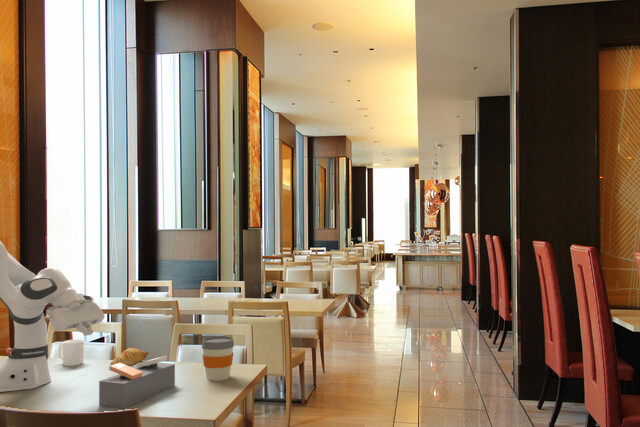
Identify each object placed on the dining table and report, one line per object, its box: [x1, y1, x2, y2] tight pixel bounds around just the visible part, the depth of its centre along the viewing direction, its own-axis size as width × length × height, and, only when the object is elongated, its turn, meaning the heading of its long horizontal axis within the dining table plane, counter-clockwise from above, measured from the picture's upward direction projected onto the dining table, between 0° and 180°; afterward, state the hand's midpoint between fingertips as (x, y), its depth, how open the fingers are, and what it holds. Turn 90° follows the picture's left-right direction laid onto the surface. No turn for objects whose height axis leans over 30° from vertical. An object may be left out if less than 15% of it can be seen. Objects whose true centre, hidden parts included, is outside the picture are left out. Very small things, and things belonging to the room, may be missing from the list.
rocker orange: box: [108, 363, 143, 380], centre depth 181 cm, size 10×5×2 cm, turn 70°
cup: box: [58, 338, 85, 367], centre depth 236 cm, size 8×12×10 cm
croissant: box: [109, 347, 149, 366], centre depth 236 cm, size 21×10×8 cm, turn 155°
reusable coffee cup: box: [201, 336, 235, 382], centre depth 210 cm, size 13×13×15 cm
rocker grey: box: [135, 355, 168, 368], centre depth 194 cm, size 10×5×2 cm, turn 71°
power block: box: [98, 362, 176, 409], centre depth 188 cm, size 10×28×9 cm, turn 160°
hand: (89, 334), depth 185 cm, fingers closed
